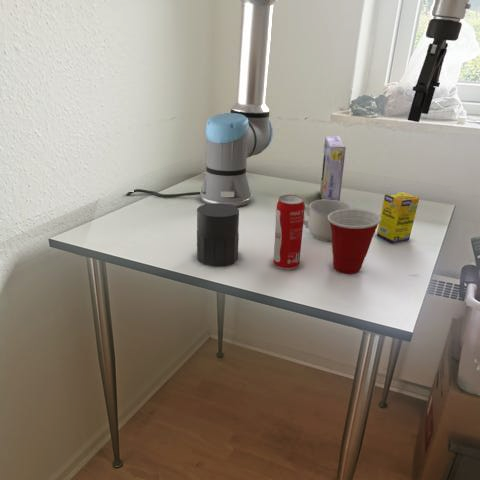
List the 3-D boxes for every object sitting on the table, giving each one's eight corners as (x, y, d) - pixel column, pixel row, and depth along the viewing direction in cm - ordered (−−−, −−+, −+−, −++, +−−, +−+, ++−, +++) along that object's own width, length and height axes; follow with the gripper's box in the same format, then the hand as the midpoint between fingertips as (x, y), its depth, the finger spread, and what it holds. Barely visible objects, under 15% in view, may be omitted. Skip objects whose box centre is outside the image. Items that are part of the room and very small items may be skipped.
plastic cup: (315, 258, 107) (322, 206, 101) (362, 258, 108) (371, 207, 102) (327, 279, 98) (335, 224, 92) (377, 279, 99) (389, 224, 93)
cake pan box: (318, 191, 154) (325, 133, 145) (333, 192, 154) (341, 134, 144) (321, 209, 137) (330, 146, 128) (339, 210, 137) (348, 147, 128)
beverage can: (299, 260, 106) (306, 193, 98) (299, 272, 100) (307, 203, 92) (272, 258, 106) (277, 191, 98) (271, 270, 101) (276, 201, 93)
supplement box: (392, 244, 116) (401, 200, 111) (375, 235, 121) (384, 193, 115) (410, 240, 119) (420, 197, 113) (393, 232, 123) (402, 191, 118)
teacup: (351, 233, 122) (356, 202, 118) (345, 248, 113) (350, 215, 109) (298, 225, 125) (302, 195, 121) (288, 239, 117) (292, 207, 112)
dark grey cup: (190, 261, 103) (189, 212, 97) (207, 247, 110) (207, 201, 104) (228, 269, 100) (229, 219, 95) (243, 254, 107) (245, 207, 102)
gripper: (456, 20, 98) (424, 127, 110) (468, 21, 117) (439, 112, 129) (420, 16, 101) (393, 121, 113) (437, 18, 120) (412, 107, 132)
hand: (418, 117), depth 121 cm, fingers open, 13 cm apart
